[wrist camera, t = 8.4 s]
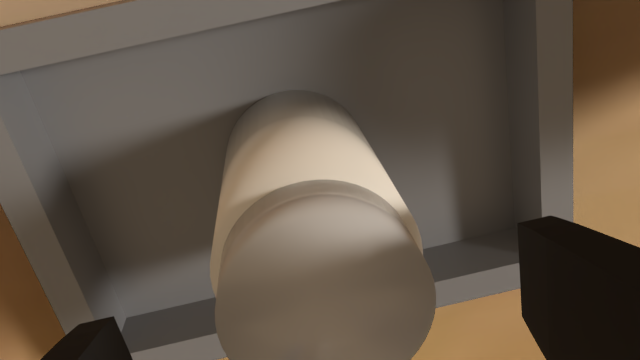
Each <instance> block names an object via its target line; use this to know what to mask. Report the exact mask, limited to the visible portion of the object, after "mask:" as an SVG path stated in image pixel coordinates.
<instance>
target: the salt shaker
mask: <svg viewBox="0 0 640 360" xmlns="http://www.w3.org/2000/svg"><path fill="white" fill-rule="evenodd" d="M210 278H211V283H212V289H213V292H214V294H215V297H216V304H215V326H216V331H217V336H218V338H219V341H220V344H221V346H222V348H223V350H224V352H225V353H226V355H227V357H228V358H229V360H410V359H411V358H412V357H413V356H414V355H415V353H416V352H417V351H418V350H419V348H420V347H421V345H422V344H423V342H424V340H425V339H426V337H427V335H428V332H429V330H430V328H431V325H432V322H433V319H434V314H435V308H436V290H435V284H434V279H433V276H432V273H431V270H430V268H429V266H428V264H427V262H426V260H425V258H424V257H423V247H422V240H421V236H420V233H419V230H418V227H417V224H416V222H415V220H414V218H413V216H412V215H411V213H410V211H409V210H408V208H407V206H406V204H405V203H404V201H403V199H402V198H401V196H400V194H399V193H398V191H397V189H396V188H395V186H394V184H393V183H392V181H391V179H390V178H389V176H388V174H387V173H386V171H385V169H384V168H383V166H382V164H381V163H380V161H379V159H378V158H377V156H376V154H375V153H374V151H373V149H372V148H371V146H370V144H369V143H368V141H367V139H366V138H365V136H364V134H363V133H362V131H361V129H360V128H359V126H358V124H357V123H356V121H355V120H354V118H353V117H352V116H351V114H350V113H349V112H348V111H347V110H346V109H345V108H344V107H343V106H341V105H340V104H339V103H338V102H336V101H334V100H333V99H331V98H329V97H327V96H325V95H322V94H319V93H316V92H312V91H305V90H289V91H283V92H278V93H275V94H272V95H269V96H267V97H265V98H263V99H261V100H259V101H258V102H256V103H255V104H253V105H252V106H251V107H250V108H248V109H247V110H246V111H245V112H244V113H243V115H242V116H241V117H240V118H239V120H238V121H237V123H236V124H235V126H234V128H233V130H232V132H231V134H230V137H229V141H228V145H227V151H226V158H225V164H224V171H223V178H222V184H221V191H220V198H219V204H218V211H217V218H216V224H215V231H214V238H213V244H212V251H211V259H210Z"/></svg>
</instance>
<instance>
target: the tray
mask: <svg viewBox="0 0 640 360" xmlns="http://www.w3.org/2000/svg"><path fill="white" fill-rule="evenodd" d="M289 90H305V91H312V92H316V93H319V94H322V95H325V96H327V97H329V98H331V99H333V100H334V101H336V102H338V103H339V104H340V105H341V106H343V107H344V108H345V109H346V110H347V111H348V112H349V113H350V114H351V116H352V117H353V118H354V120H355V121H356V123H357V124H358V126H359V128H360V129H361V131H362V133H363V134H364V136H365V138H366V139H367V141H368V143H369V144H370V146H371V148H372V149H373V151H374V153H375V154H376V156H377V158H378V159H379V161H380V163H381V164H382V166H383V168H384V169H385V171H386V173H387V174H388V176H389V178H390V179H391V181H392V183H393V184H394V186H395V188H396V189H397V191H398V193H399V194H400V196H401V198H402V199H403V201H404V203H405V204H406V206H407V208H408V210H409V211H410V213H411V215H412V216H413V218H414V220H415V222H416V224H417V227H418V230H419V233H420V236H421V240H422V247H423V257H424V258H425V260H426V262H427V264H428V266H429V268H430V270H431V273H432V276H433V279H434V284H435V290H436V308H438V307H442V306H447V305H451V304H455V303H460V302H464V301H468V300H472V299H477V298H481V297H485V296H489V295H494V294H498V293H502V292H506V291H511V290H515V289H519V288H521V287H520V268H519V249H518V230H517V223H520V222H524V221H529V220H533V219H537V218H542V217H546V216H550V215H551V216H555V217H558V218H561V219H564V220H567V221H570V222H573V0H122V1H118V2H113V3H108V4H104V5H99V6H95V7H90V8H85V9H81V10H76V11H72V12H67V13H62V14H58V15H53V16H49V17H44V18H39V19H35V20H30V21H26V22H21V23H16V24H12V25H7V26H3V27H0V204H1V206H2V208H3V210H4V212H5V214H6V216H7V218H8V220H9V222H10V224H11V226H12V228H13V230H14V232H15V234H16V236H17V238H18V240H19V242H20V244H21V246H22V248H23V250H24V252H25V254H26V256H27V258H28V260H29V262H30V264H31V266H32V268H33V270H34V272H35V274H36V276H37V278H38V280H39V282H40V284H41V286H42V288H43V290H44V292H45V294H46V296H47V298H48V300H49V302H50V304H51V306H52V308H53V310H54V312H55V314H56V316H57V318H58V320H59V322H60V324H61V326H62V328H63V330H64V332H65V334H66V335H67V334H68V333H69V332H70V331H71V330H73V329H74V328H75V327H76V326H77V325H79V324H81V323H86V322H90V321H94V320H99V319H103V318H107V317H112V316H114V318H115V320H116V322H117V325H118V327H119V329H120V331H121V334H122V336H123V338H124V340H125V343H126V345H127V347H128V350H129V352H130V354H131V356H132V359H133V360H216V359H221V358H225V357H227V355H226V353H225V352H224V350H223V348H222V346H221V344H220V341H219V338H218V336H217V331H216V326H215V304H216V297H215V294H214V292H213V289H212V283H211V278H210V259H211V251H212V244H213V238H214V231H215V224H216V218H217V211H218V204H219V198H220V191H221V184H222V178H223V171H224V164H225V158H226V151H227V145H228V141H229V137H230V134H231V132H232V130H233V128H234V126H235V124H236V123H237V121H238V120H239V118H240V117H241V116H242V115H243V113H244V112H245V111H246V110H247V109H248V108H250V107H251V106H252V105H253V104H255V103H256V102H258V101H259V100H261V99H263V98H265V97H267V96H269V95H272V94H275V93H278V92H283V91H289Z"/></svg>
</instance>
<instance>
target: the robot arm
mask: <svg viewBox="0 0 640 360" xmlns="http://www.w3.org/2000/svg"><path fill="white" fill-rule="evenodd" d="M517 230H518V249H519V268H520V287H521V306H522V317H523V319H524V321H525V322H526V324H527V326H528V328H529V330H530V332H531V333H532V335H533V337H534V339H535V341H536V343H537V344H538V346H539V348H540V350H541V351H542V353H543V355H544V356H545V358H546V360H640V248H639V247H637V246H634V245H631V244H629V243H626V242H623V241H621V240H618V239H616V238H613V237H610V236H608V235H605V234H603V233H600V232H597V231H595V230H592V229H589V228H587V227H584V226H581V225H579V224H576V223H573V222H570V221H567V220H564V219H561V218H558V217H555V216H551V215H550V216H546V217H542V218H537V219H533V220H529V221H524V222H520V223H517ZM40 360H133V359H132V356H131V354H130V352H129V350H128V347H127V345H126V343H125V340H124V338H123V336H122V334H121V331H120V329H119V327H118V325H117V322H116V320H115V318H114V316H112V317H107V318H103V319H99V320H94V321H90V322H86V323H81V324H79V325H77V326H76V327H75V328H74V329H73V330H71V331H70V332H69V333H68V334H67V335H66V336H65V337H63V338H62V339H61V340H60V341H59V342H58V343H57V344H56V345H55V346H54V347H53V348H52V349H51V350H50V351H49V352H48V353H47V354H46V355H45V356H44V357H43V358H42V359H40Z"/></svg>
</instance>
